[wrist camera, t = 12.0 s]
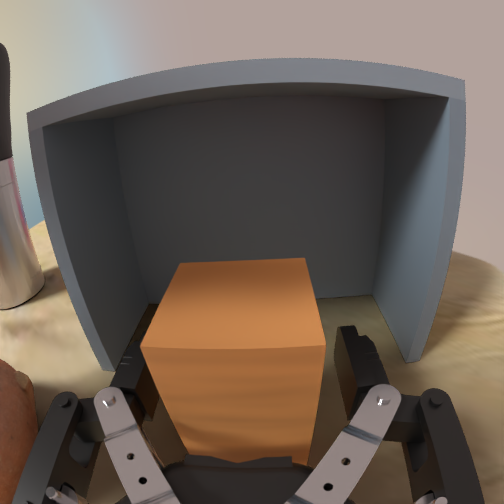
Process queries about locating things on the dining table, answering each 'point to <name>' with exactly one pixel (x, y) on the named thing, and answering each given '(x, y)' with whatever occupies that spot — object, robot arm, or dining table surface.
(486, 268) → the dining table surface
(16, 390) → the ceramic jug
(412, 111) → the grey cubby
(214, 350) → the orange block
